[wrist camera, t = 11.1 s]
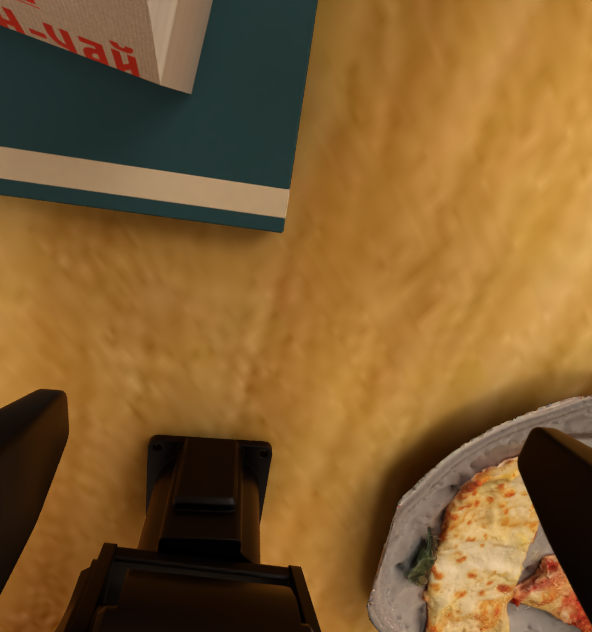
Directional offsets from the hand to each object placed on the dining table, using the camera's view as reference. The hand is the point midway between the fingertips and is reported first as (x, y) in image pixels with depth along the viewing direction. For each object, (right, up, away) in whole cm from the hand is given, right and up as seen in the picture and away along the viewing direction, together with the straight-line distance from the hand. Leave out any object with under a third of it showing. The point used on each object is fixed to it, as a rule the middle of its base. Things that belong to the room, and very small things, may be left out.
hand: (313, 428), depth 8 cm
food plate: (+16, -12, +21) cm, 29 cm away
